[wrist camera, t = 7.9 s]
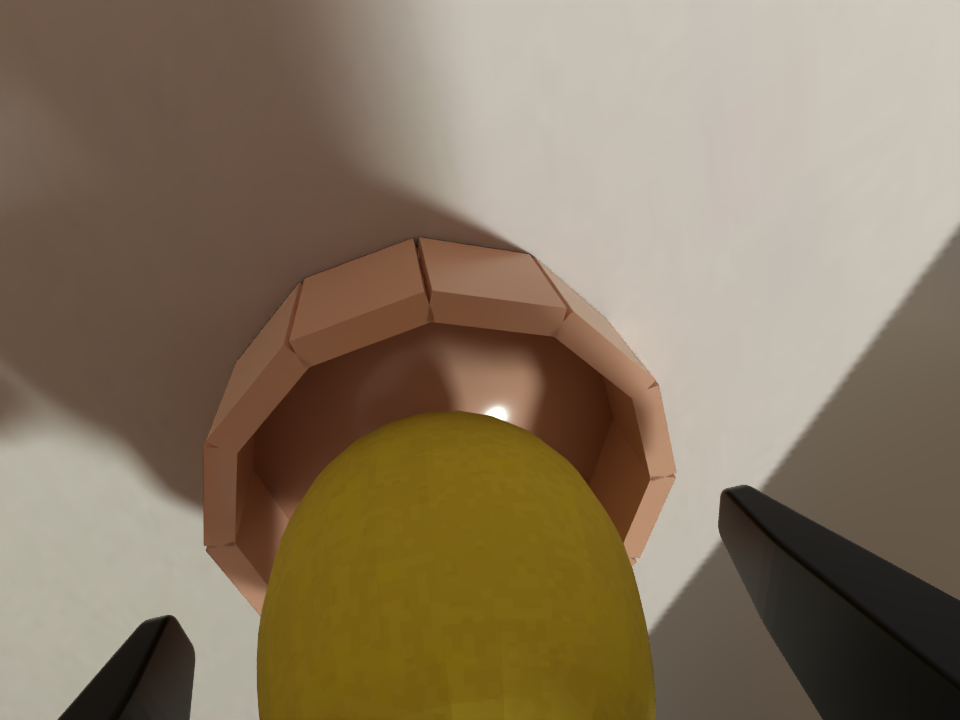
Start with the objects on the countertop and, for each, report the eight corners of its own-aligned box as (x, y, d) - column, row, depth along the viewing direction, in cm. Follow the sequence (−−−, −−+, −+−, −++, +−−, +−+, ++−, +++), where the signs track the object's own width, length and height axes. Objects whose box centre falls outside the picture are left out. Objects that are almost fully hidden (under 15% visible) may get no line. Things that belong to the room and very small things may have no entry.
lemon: (239, 414, 12) (23, 1014, 5) (495, 278, 11) (675, 762, 4) (392, 573, 14) (394, 1092, 8) (604, 474, 14) (819, 954, 7)
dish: (565, 570, 16) (595, 656, 14) (229, 563, 14) (203, 662, 12) (675, 276, 12) (741, 331, 10) (238, 209, 10) (202, 259, 8)
